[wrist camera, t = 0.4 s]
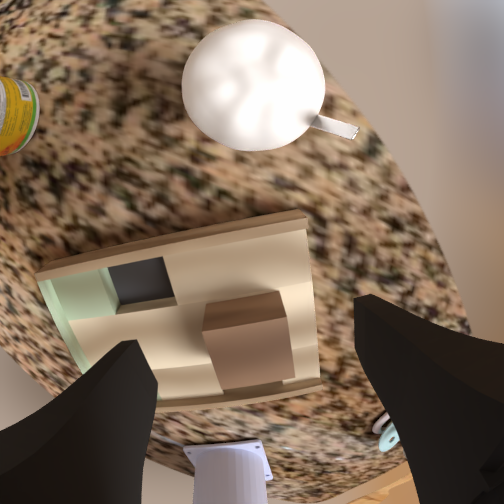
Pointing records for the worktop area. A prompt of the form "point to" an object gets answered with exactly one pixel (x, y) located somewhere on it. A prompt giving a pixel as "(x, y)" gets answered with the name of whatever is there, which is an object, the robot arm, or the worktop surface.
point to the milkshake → (256, 87)
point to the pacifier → (386, 433)
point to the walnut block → (249, 340)
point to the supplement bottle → (17, 114)
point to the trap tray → (187, 303)
